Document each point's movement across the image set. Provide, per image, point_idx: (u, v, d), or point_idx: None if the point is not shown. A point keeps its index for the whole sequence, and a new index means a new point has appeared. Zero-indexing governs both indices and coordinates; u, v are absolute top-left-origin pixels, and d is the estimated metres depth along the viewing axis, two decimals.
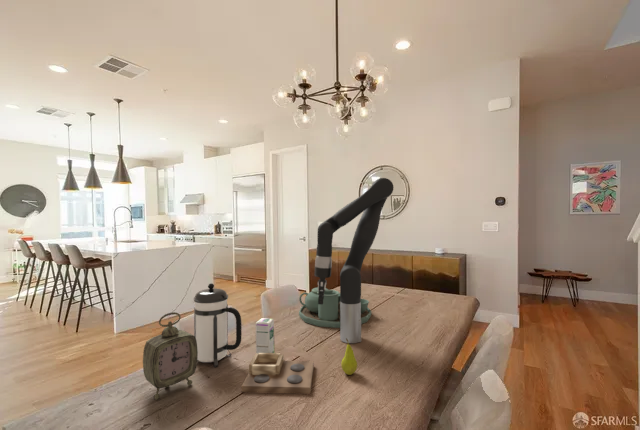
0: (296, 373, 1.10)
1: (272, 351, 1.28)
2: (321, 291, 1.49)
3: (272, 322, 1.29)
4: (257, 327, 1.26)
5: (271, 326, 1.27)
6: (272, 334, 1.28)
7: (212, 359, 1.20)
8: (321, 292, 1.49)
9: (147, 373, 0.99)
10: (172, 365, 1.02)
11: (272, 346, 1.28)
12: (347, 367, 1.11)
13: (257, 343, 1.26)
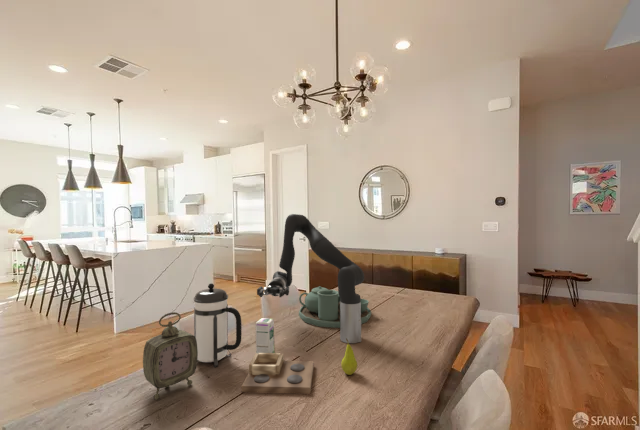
0: (296, 373, 1.10)
1: (272, 351, 1.28)
2: None
3: (272, 322, 1.29)
4: (257, 327, 1.26)
5: (271, 326, 1.27)
6: (272, 334, 1.28)
7: (212, 359, 1.20)
8: None
9: (147, 373, 0.99)
10: (172, 365, 1.02)
11: (272, 346, 1.28)
12: (347, 367, 1.11)
13: (257, 343, 1.26)
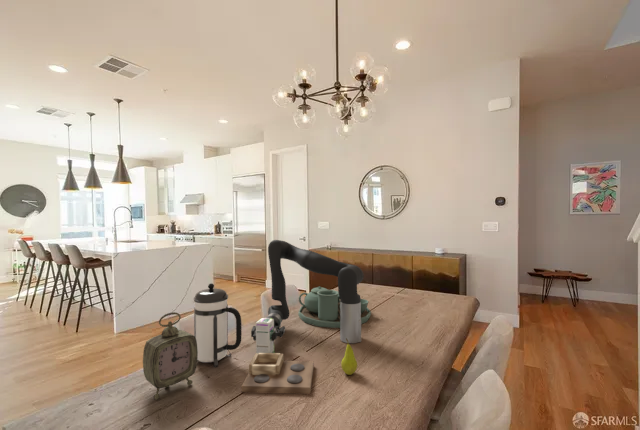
0: (296, 373, 1.10)
1: (272, 351, 1.28)
2: None
3: (272, 322, 1.29)
4: (257, 327, 1.26)
5: (271, 326, 1.27)
6: None
7: (212, 359, 1.20)
8: None
9: (147, 373, 0.99)
10: (172, 365, 1.02)
11: (272, 346, 1.28)
12: (347, 367, 1.11)
13: (257, 343, 1.26)
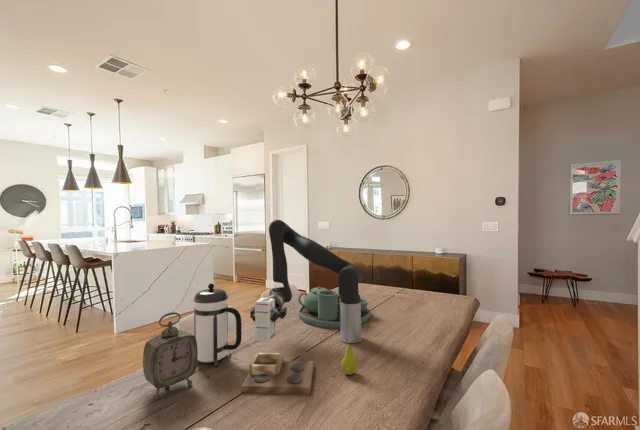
0: (296, 373, 1.10)
1: (273, 333, 1.19)
2: None
3: (273, 302, 1.19)
4: (256, 307, 1.16)
5: (272, 306, 1.18)
6: (272, 315, 1.18)
7: (212, 359, 1.20)
8: None
9: (147, 373, 0.99)
10: (172, 365, 1.02)
11: (272, 328, 1.18)
12: (347, 367, 1.11)
13: (256, 324, 1.16)
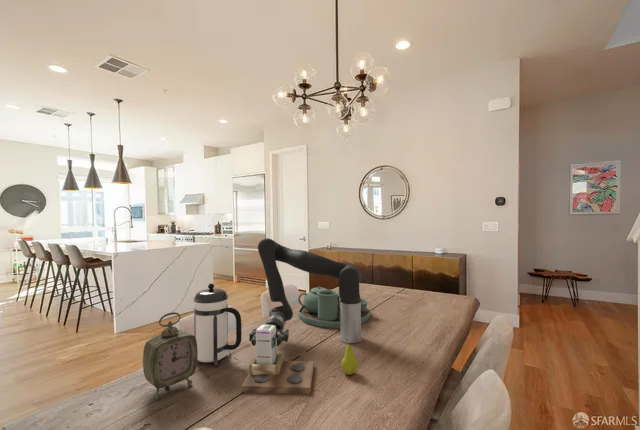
0: (296, 373, 1.10)
1: (274, 361, 1.15)
2: None
3: (274, 329, 1.15)
4: (257, 335, 1.12)
5: (273, 334, 1.14)
6: (274, 343, 1.14)
7: (212, 359, 1.20)
8: None
9: (147, 373, 0.99)
10: (172, 365, 1.02)
11: (274, 356, 1.14)
12: (347, 367, 1.11)
13: (257, 353, 1.12)
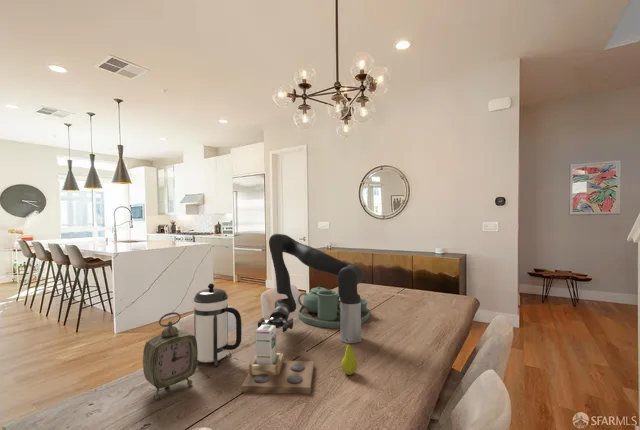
0: (296, 373, 1.10)
1: (274, 361, 1.15)
2: None
3: (274, 329, 1.15)
4: (257, 335, 1.12)
5: (273, 334, 1.14)
6: (274, 343, 1.14)
7: (212, 359, 1.20)
8: None
9: (147, 373, 0.99)
10: (172, 365, 1.02)
11: (274, 356, 1.14)
12: (347, 367, 1.11)
13: (257, 353, 1.12)
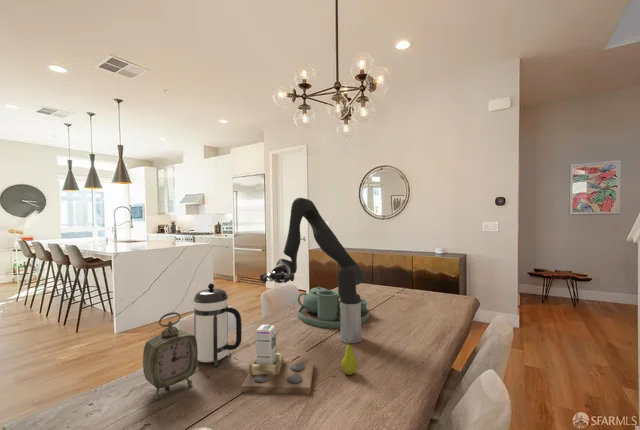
0: (296, 373, 1.10)
1: (274, 361, 1.15)
2: None
3: (274, 329, 1.15)
4: (257, 335, 1.12)
5: (273, 334, 1.14)
6: (274, 343, 1.14)
7: (212, 359, 1.20)
8: None
9: (147, 373, 0.99)
10: (172, 365, 1.02)
11: (274, 356, 1.14)
12: (347, 367, 1.11)
13: (257, 353, 1.12)
